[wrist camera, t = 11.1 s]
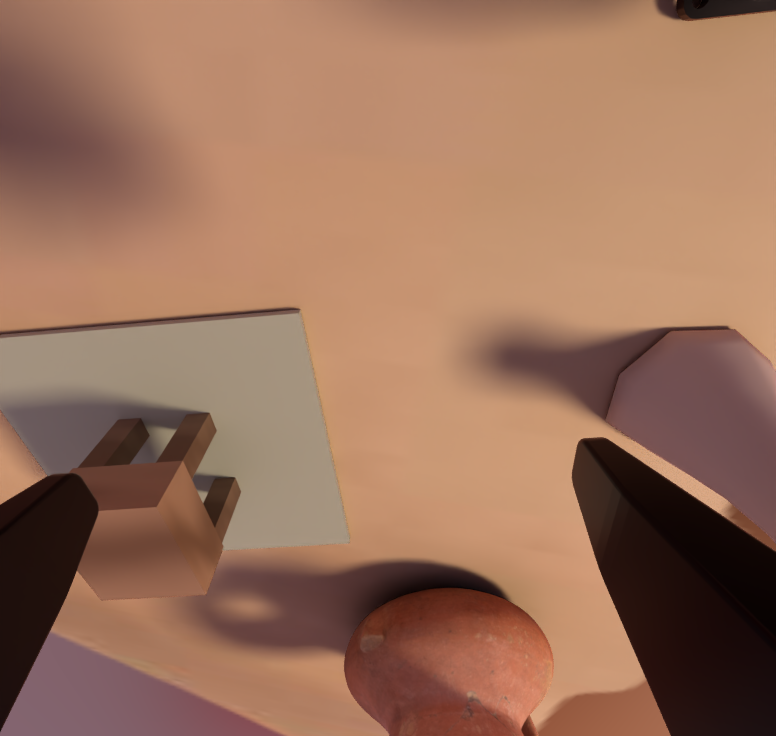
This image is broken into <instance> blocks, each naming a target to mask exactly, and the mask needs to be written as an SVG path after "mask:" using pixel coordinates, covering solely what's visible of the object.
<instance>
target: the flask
mask: <svg viewBox="0 0 776 736" xmlns="http://www.w3.org/2000/svg"><path fill="white" fill-rule="evenodd" d="M605 421H606V422H608V423H609V424H611V425H612V426H614V427H615V428H616V429H618V430H619V431H621V432H622V433H624V434H625V435H627V436H628V437H630V438H631V439H633V440H634V441H636V442H637V443H639V444H640V445H642V446H643V447H645V448H646V449H648V450H649V451H651V452H652V453H654V454H656V455H657V456H659V457H661V458H662V459H664V460H665V461H667V462H669V463H670V464H672V465H674V466H675V467H677V468H679V469H680V470H682V471H684V472H685V473H687V474H689V475H690V476H692V477H693V478H695V479H696V480H698V481H699V482H701V483H702V484H704V485H706V486H707V487H709V488H710V489H712V490H713V491H715V492H716V493H718V494H719V495H721V496H722V497H724V498H725V499H727V500H728V501H729V502H730V503H731V504H733V505H734V506H735V507H736V508H737V509H738V510H740V511H741V512H742V513H743V514H744V515H745V516H747V517H748V518H749V519H750V520H751V521H753V522H754V523H755V524H756V525H757V526H758V527H759V528H761V529H762V530H763V531H764V532H765V533H767V534H768V536H769V537H770V538H771V539H772V540H773V541H774V542H775V543H776V371H775V369H774V367H773V365H772V363H771V361H770V360H769V359H768V358H767V357H765V356H764V355H763V354H762V353H761V352H760V351H759V350H758V349H757V348H755V347H754V346H753V345H752V344H751V343H750V342H749V341H748V340H747V339H745V338H744V337H743V336H742V335H741V334H740V333H739V332H738V331H736V330H735V329H730V330H691V331H670V332H669V333H668V334H667V335H666V336H664V337H663V338H662V339H661V340H660V341H658V342H657V343H656V344H655V345H654V346H653V347H651V348H650V349H649V350H648V351H647V352H645V353H644V354H643V355H642V356H641V357H640V358H638V359H637V360H636V361H635V362H634V363H632V364H631V365H630V366H629V367H628V368H626V369H625V370H624V371H623V372H622V373H621V374H619V378H618V381H617V384H616V387H615V391H614V394H613V397H612V400H611V404H610V407H609V410H608V414H607V417H606V420H605Z"/></svg>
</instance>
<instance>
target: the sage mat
mask: <svg viewBox="0 0 776 736" xmlns="http://www.w3.org/2000/svg"><path fill="white" fill-rule="evenodd" d="M0 410H1V411H2V413H3V414H4V416H5V417H6V418H7V420H8V421H9V423H10V424H11V425H12V427H13V428H14V430H15V431H16V432H17V434H18V435H19V436H20V438H21V439H22V441H23V442H24V443H25V445H26V446H27V448H28V449H29V450H30V452H31V453H32V455H33V456H34V457H35V459H36V460H37V462H38V463H39V464H40V466H41V467H42V469H43V470H44V471H45V473H46V474H47V476H49V475H52V474H58V473H69V472H70V471H71V470H72V468H78V467H79V465H80V464H81V463H82V462H83V461H84V459H85V458H86V457H87V456H88V455H89V453H90V452H91V451H92V450H93V449H94V448H95V446H96V445H97V444H98V443H99V442H100V440H101V439H102V438H103V437H104V436H105V434H106V433H107V432H108V431H109V430H110V428H111V427H112V426H113V425H114V424H115V422H116V421H117V420H119V419H132V418H141V420H142V421H143V423H144V425H145V427H146V429H147V431H148V433H149V435H150V436H149V438H148V439H147V440H146V442H145V443H144V445H143V446H142V448H141V449H140V450H139V452H138V453H137V455H136V456H135V457H134V459H133V460H132V462H131V463H130V464H143V463H156V462H157V460H158V458H159V457H160V455H161V454H162V452H163V451H164V449H165V447H166V446H167V444H168V443H169V441H170V440H171V438H172V436H173V435H174V433H175V432H176V430H177V429H178V427H179V425H180V424H181V422H182V421H183V419H184V418H185V416H186V414H199V413H210V415H211V417H212V420H213V422H214V425H215V427H216V430H217V432H216V434H215V436H214V438H213V439H212V441H211V443H210V445H209V447H208V449H207V451H206V453H205V455H204V457H203V459H202V461H201V463H200V465H199V467H198V469H197V471H196V473H195V474H194V476H193V478H192V481H193V483H194V485H195V487H196V490H197V492H198V494H199V496H200V498H201V500H202V502H203V503H204V501H205V498H206V496H207V494H208V492H209V490H210V487H211V485H212V483H213V481H214V479H218V478H233V477H235V478H236V480H237V483H238V485H239V488H240V490H241V494H240V497H239V499H238V502H237V505H236V507H235V510H234V513H233V516H232V518H231V521H230V524H229V526H228V529H227V532H226V534H225V537H224V540H223V542H222V544H223V546H224V547H223V550H240V549H258V548H275V547H293V546H311V545H329V544H347V543H350V536H349V531H348V526H347V522H346V517H345V513H344V508H343V503H342V499H341V494H340V490H339V485H338V480H337V476H336V471H335V467H334V462H333V457H332V453H331V448H330V444H329V439H328V434H327V430H326V425H325V421H324V416H323V411H322V407H321V402H320V398H319V393H318V388H317V384H316V379H315V375H314V370H313V365H312V361H311V356H310V352H309V347H308V342H307V338H306V333H305V329H304V324H303V319H302V315H301V310H300V309H298V310H287V311H275V312H263V313H251V314H239V315H227V316H215V317H203V318H191V319H180V320H168V321H156V322H144V323H132V324H120V325H108V326H96V327H85V328H73V329H61V330H49V331H37V332H25V333H13V334H1V335H0Z"/></svg>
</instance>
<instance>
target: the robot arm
mask: <svg viewBox="0 0 776 736" xmlns="http://www.w3.org/2000/svg"><path fill="white" fill-rule="evenodd" d="M676 11H677V13H678V16H679V17H680V18H681V19H682V20H685V21H693V20H702V19H711V18H720V17H729V16H738V15H747V14H755V13H764V12H773V11H776V0H702V1H701V3H700V5H699V6H698V7H697V8H694V6H693V5H692V0H677V8H676ZM572 482H573V486H574V490H575V493H576V496H577V500H578V503H579V506H580V509H581V512H582V516H583V519H584V522H585V525H586V529H587V532H588V535H589V538H590V542H591V545H592V548H593V551H594V555H595V558H596V561H597V564H598V567H599V570H600V572H601V575H602V577H603V580H604V582H605V584H606V587H607V589H608V591H609V594H610V596H611V598H612V601H613V603H614V605H615V608H616V610H617V612H618V615H619V617H620V619H621V621H622V624H623V626H624V628H625V631H626V633H627V635H628V638H629V640H630V642H631V645H632V647H633V649H634V652H635V654H636V656H637V658H638V661H639V663H640V665H641V668H642V670H643V672H644V675H645V677H646V679H647V682H648V684H649V686H650V688H651V691H652V693H653V695H654V698H655V700H656V702H657V705H658V707H659V709H660V712H661V714H662V716H663V719H664V721H665V723H666V726H667V728H668V730H669V733H670V735H671V736H776V551H775V550H773V549H772V548H770V547H769V546H767V545H765V544H764V543H763V542H761V541H760V540H758V539H757V538H755V537H754V536H752V535H751V534H749V533H748V532H746V531H745V530H743V529H742V528H740V527H739V526H737V525H736V524H734V523H733V522H731V521H730V520H728V519H727V518H725V517H724V516H722V515H721V514H719V513H718V512H716V511H715V510H713V509H712V508H710V507H709V506H707V505H706V504H704V503H703V502H701V501H700V500H698V499H697V498H695V497H694V496H692V495H691V494H689V493H688V492H686V491H685V490H683V489H682V488H680V487H679V486H677V485H676V484H674V483H673V482H671V481H670V480H668V479H667V478H665V477H664V476H662V475H661V474H659V473H658V472H656V471H655V470H653V469H652V468H650V467H649V466H647V465H646V464H644V463H643V462H641V461H640V460H638V459H637V458H635V457H634V456H632V455H631V454H629V453H628V452H626V451H625V450H623V449H622V448H620V447H619V446H617V445H616V444H614V443H613V442H611V441H610V440H608V439H606V438H603V437H597V438H584V439H581V440H580V441H579V442H578V445H577V449H576V454H575V459H574V465H573V470H572ZM98 513H99V505H98V502H97V500H96V498H95V497H94V495H93V494H92V492H91V491H90V489H89V488H88V486H87V485H86V483H85V482H84V480H83V479H82V477H81V476H80V475H78V474H76V473H58V474H52V475H49V476H47V477H45V478H44V479H42V480H40V481H39V482H37V483H35V484H34V485H32V486H30V487H29V488H27V489H25V490H24V491H22V492H20V493H19V494H17V495H15V496H14V497H12V498H11V499H9V500H7V501H6V502H4V503H2V504H1V505H0V731H1V729H2V727H3V725H4V723H5V721H6V719H7V717H8V715H9V713H10V711H11V709H12V707H13V705H14V703H15V701H16V699H17V697H18V695H19V693H20V691H21V689H22V687H23V684H24V683H25V681H26V679H27V677H28V675H29V673H30V671H31V668H32V666H33V664H34V662H35V660H36V658H37V656H38V654H39V652H40V650H41V648H42V646H43V644H44V642H45V640H46V638H47V636H48V634H49V632H50V630H51V628H52V626H53V624H54V622H55V620H56V618H57V616H58V614H59V612H60V609H61V607H62V605H63V603H64V601H65V599H66V596H67V594H68V592H69V589H70V587H71V584H72V582H73V579H74V577H75V574H76V571H77V569H78V566H79V564H80V561H81V558H82V556H83V553H84V551H85V548H86V545H87V543H88V540H89V538H90V535H91V532H92V530H93V527H94V525H95V522H96V519H97V517H98Z"/></svg>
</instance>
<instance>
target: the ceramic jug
mask: <svg viewBox="0 0 776 736" xmlns="http://www.w3.org/2000/svg"><path fill="white" fill-rule="evenodd" d="M553 667H554V664H553V655H552V651H551V647H550V645H549V643H548V640H547V638H546V637H545V635H544V633H543V631H542V630H541V628H540V627H539V626H538V624H537V623H536V622H535V621H534V620H533V619H532V618H531V617H530V616H529V615H528V614H527V613H526V612H525V611H523V610H522V609H521V608H519V607H518V606H516V605H514V604H513V603H511V602H509V601H507V600H505V599H502V598H500V597H497V596H494V595H491V594H488V593H484V592H480V591H476V590H470V589H462V588H437V589H428V590H423V591H418V592H414V593H410V594H407V595H404V596H401V597H398V598H396V599H394V600H391V601H389V602H387V603H385V604H384V605H382V606H380V607H379V608H377V609H375V610H374V611H373V612H371V613H370V614H369V615H368V616H367V617H366V618H365V619H364V620H363V621H362V622H361V623H360V624H359V626H358V627H357V629H356V630H355V632H354V634H353V636H352V638H351V640H350V642H349V645H348V648H347V651H346V654H345V660H344V672H345V677H346V682H347V685H348V688H349V690H350V692H351V694H352V696H353V697H354V699H355V700H356V701H357V703H358V704H359V705H360V706H361V707H362V708H363V709H364V710H365V711H366V712H367V713H368V714H369V715H370V716H371V717H372V718H373V719H375V720H376V721H377V722H378V723H380V724H381V725H382V726H383V727H384V728H385V729H386V730H387V731H388V733H389V736H539V735H538V733H537V731H536V728H535V726H534V724H533V722H532V719H531V717H530V714H531V713H532V711H533V710H534V709H535V708H536V707H537V706H538V705H539V704H540V702H541V701H542V700H543V698H544V697H545V695H546V693H547V691H548V689H549V687H550V685H551V681H552V677H553Z"/></svg>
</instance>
